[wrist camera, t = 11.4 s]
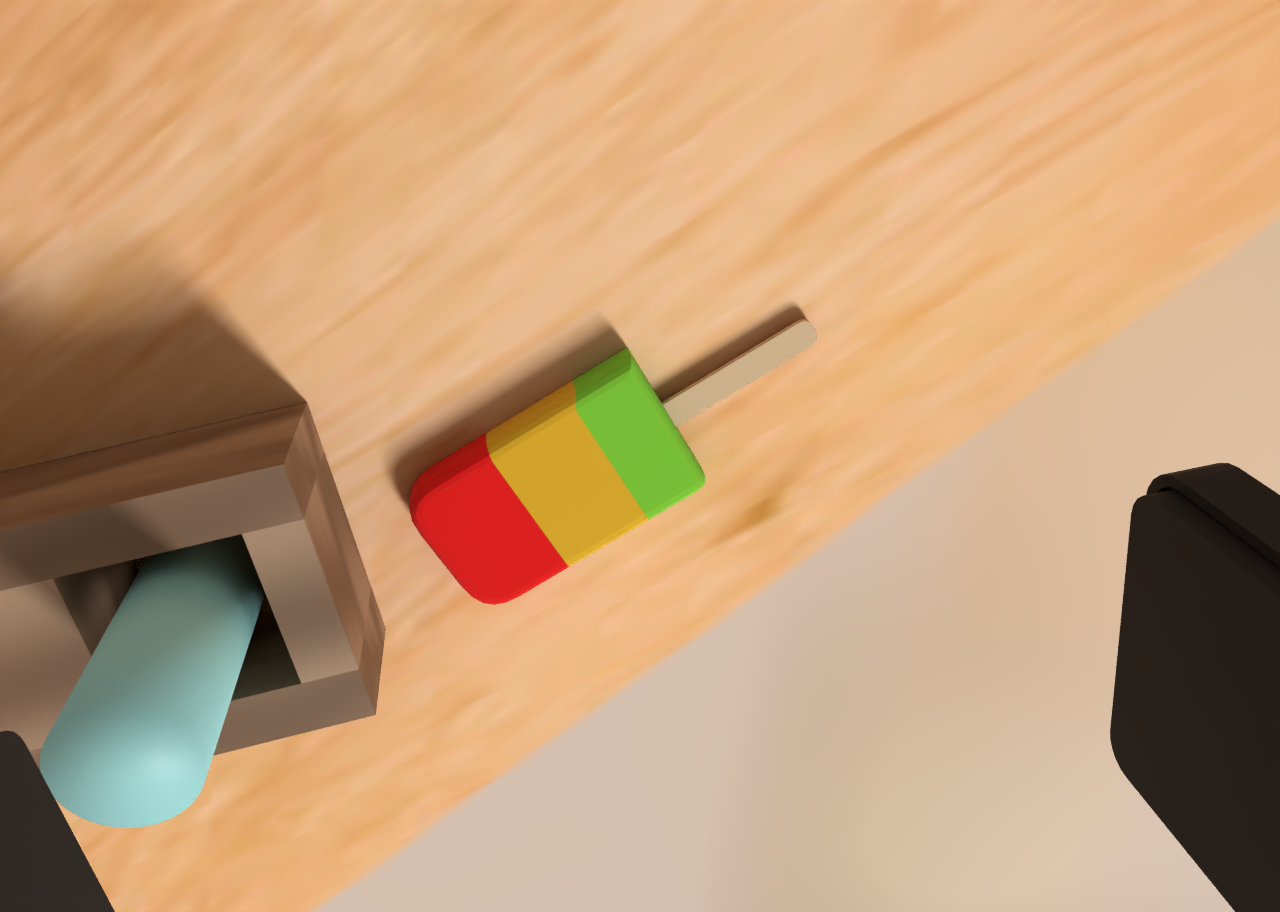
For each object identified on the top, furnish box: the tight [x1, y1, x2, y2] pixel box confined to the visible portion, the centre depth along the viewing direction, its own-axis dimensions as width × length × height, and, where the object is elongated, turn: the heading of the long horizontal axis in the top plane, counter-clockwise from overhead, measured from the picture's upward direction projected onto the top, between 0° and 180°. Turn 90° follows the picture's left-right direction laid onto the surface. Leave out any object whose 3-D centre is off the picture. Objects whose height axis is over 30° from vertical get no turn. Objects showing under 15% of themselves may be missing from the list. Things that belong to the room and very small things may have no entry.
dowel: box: [40, 534, 265, 828], centre depth 31 cm, size 4×4×11 cm
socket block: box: [0, 402, 386, 772], centre depth 33 cm, size 9×18×5 cm, turn 101°
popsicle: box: [409, 319, 817, 605], centre depth 36 cm, size 6×15×2 cm, turn 120°
